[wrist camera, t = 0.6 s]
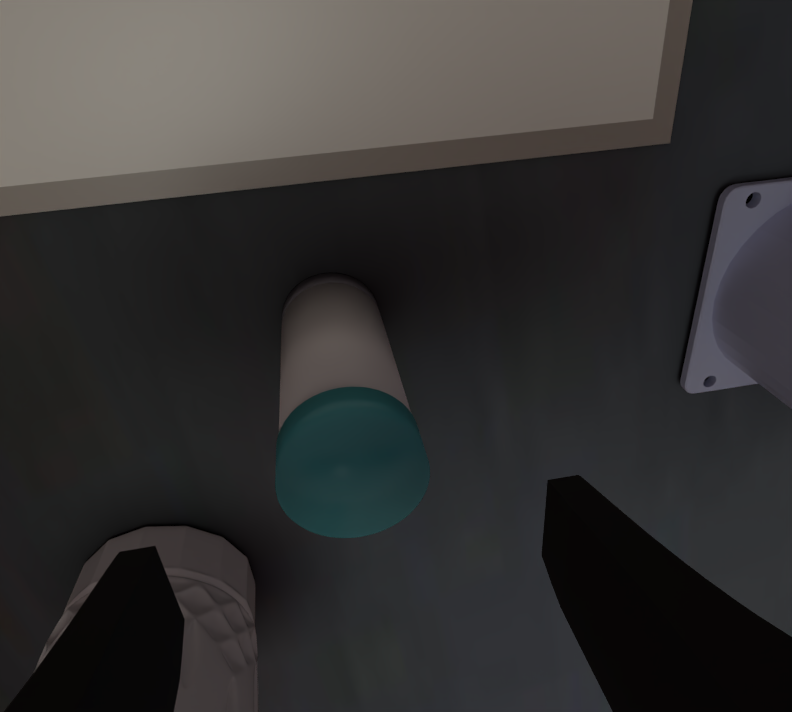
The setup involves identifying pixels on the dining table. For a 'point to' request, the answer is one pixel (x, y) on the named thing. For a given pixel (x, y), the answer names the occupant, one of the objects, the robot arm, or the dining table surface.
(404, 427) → the marker
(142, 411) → the dining table surface
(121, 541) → the white cup
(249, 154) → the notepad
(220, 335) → the dining table surface
